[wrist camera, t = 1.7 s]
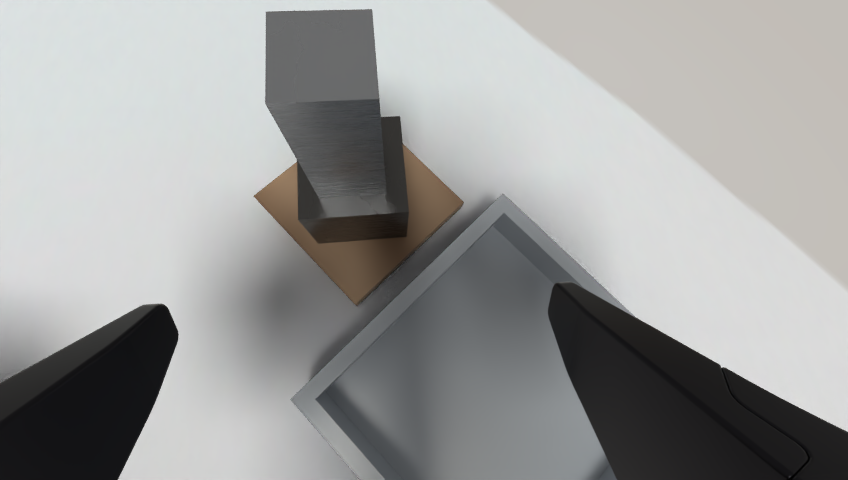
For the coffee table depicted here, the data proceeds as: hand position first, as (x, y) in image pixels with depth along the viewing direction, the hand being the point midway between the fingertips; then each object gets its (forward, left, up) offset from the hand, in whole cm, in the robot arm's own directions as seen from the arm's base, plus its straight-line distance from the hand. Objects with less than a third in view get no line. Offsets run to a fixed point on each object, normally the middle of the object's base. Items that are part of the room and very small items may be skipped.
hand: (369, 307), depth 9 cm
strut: (+4, +6, -12) cm, 15 cm away
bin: (+2, -7, -13) cm, 15 cm away
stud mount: (+4, +7, -13) cm, 15 cm away
